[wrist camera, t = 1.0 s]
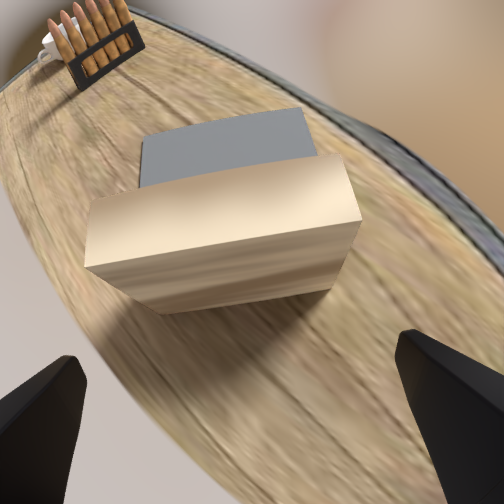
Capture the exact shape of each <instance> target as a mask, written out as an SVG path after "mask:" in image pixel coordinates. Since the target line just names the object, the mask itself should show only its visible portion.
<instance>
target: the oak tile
mask: <svg viewBox="0 0 504 504" xmlns="http://www.w3.org/2000/svg"><path fill="white" fill-rule="evenodd" d="M361 222H362V217H361V214H360V211H359V208H358V205H357V202H356V199H355V195H354V193H353V190H352V187H351V184H350V181H349V178H348V175H347V172H346V169H345V167H344V164H343V161H342V158H341V156H340V153H336V154H328V155H320V156H312V157H304V158H297V159H290V160H283V161H276V162H270V163H264V164H257V165H251V166H245V167H240V168H234V169H228V170H223V171H218V172H212V173H207V174H202V175H197V176H192V177H187V178H182V179H178V180H173V181H168V182H164V183H159V184H155V185H151V186H146V187H142V188H138V189H134V190H130V191H125V192H121V193H117V194H114V195H110V196H106V197H102V198H98V199H94V200H91V201H90V209H89V217H88V227H87V237H86V249H85V264H84V268H86V269H87V270H89V271H90V272H92V273H93V274H95V275H97V276H98V277H100V278H101V279H103V280H104V281H106V282H107V283H109V284H110V285H112V286H114V287H115V288H117V289H118V290H120V291H122V292H123V293H125V294H126V295H128V296H130V297H131V298H133V299H135V300H136V301H138V302H140V303H141V304H143V305H145V306H146V307H148V308H150V309H151V310H153V311H155V312H156V313H158V314H160V315H165V314H173V313H181V312H188V311H195V310H203V309H210V308H217V307H224V306H230V305H237V304H243V303H250V302H256V301H262V300H269V299H275V298H281V297H287V296H292V295H298V294H304V293H310V292H315V291H321V290H326V289H331V288H332V286H333V284H334V282H335V280H336V278H337V276H338V274H339V271H340V269H341V267H342V265H343V263H344V261H345V258H346V256H347V254H348V252H349V250H350V247H351V245H352V243H353V241H354V238H355V236H356V234H357V232H358V229H359V227H360V225H361Z"/></svg>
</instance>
